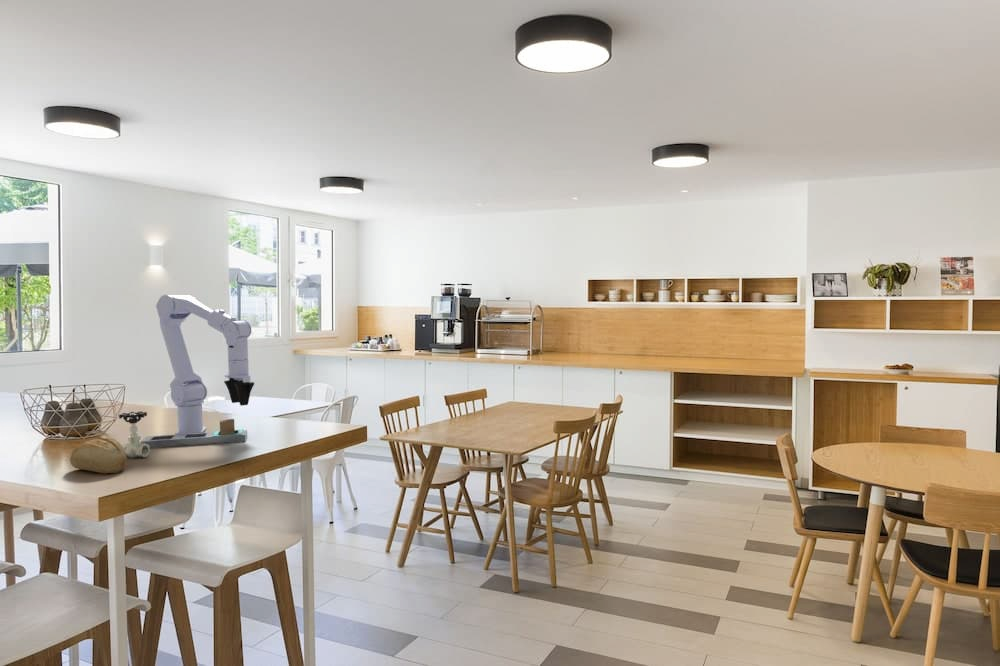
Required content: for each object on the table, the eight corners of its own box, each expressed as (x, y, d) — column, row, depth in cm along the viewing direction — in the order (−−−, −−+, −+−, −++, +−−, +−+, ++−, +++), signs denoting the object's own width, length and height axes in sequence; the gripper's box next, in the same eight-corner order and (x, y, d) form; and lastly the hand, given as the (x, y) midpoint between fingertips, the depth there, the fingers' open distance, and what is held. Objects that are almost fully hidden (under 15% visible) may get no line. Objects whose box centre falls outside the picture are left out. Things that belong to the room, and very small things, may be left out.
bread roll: (94, 464, 178) (93, 433, 177) (138, 468, 173) (137, 437, 172) (59, 473, 169) (58, 441, 168) (105, 478, 164) (103, 444, 163)
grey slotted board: (146, 443, 204) (146, 435, 203) (247, 436, 211) (247, 429, 211) (140, 448, 196) (140, 440, 196) (245, 441, 204) (245, 433, 203)
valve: (136, 461, 181) (134, 415, 180) (115, 460, 182) (113, 415, 181) (154, 455, 187) (152, 411, 187) (133, 454, 188) (131, 411, 188)
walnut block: (220, 439, 207) (219, 420, 207) (234, 438, 209) (234, 418, 208) (220, 442, 203) (219, 422, 203) (234, 441, 205) (234, 421, 205)
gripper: (217, 359, 215) (218, 402, 215) (232, 362, 203) (234, 407, 204) (240, 357, 219) (241, 400, 220) (256, 360, 208) (258, 405, 208)
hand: (239, 403), depth 212 cm, fingers open, 7 cm apart
